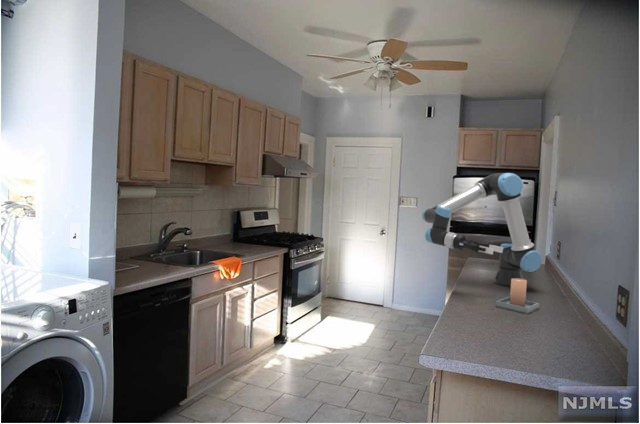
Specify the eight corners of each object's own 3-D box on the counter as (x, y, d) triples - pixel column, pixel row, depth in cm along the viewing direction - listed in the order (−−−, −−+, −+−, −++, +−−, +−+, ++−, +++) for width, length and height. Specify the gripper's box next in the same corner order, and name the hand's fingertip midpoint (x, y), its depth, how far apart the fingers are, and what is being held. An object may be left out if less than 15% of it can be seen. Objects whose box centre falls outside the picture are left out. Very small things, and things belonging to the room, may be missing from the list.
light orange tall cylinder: (512, 303, 205) (514, 277, 204) (527, 306, 200) (529, 280, 200) (507, 305, 200) (509, 279, 199) (521, 308, 196) (523, 282, 195)
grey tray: (507, 301, 210) (508, 296, 210) (538, 308, 200) (539, 303, 200) (495, 306, 200) (495, 301, 200) (527, 314, 191) (527, 308, 190)
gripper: (463, 247, 233) (504, 257, 219) (443, 249, 214) (487, 260, 200) (466, 233, 232) (507, 242, 219) (446, 234, 213) (490, 244, 200)
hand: (498, 251), depth 209 cm, fingers open, 13 cm apart
